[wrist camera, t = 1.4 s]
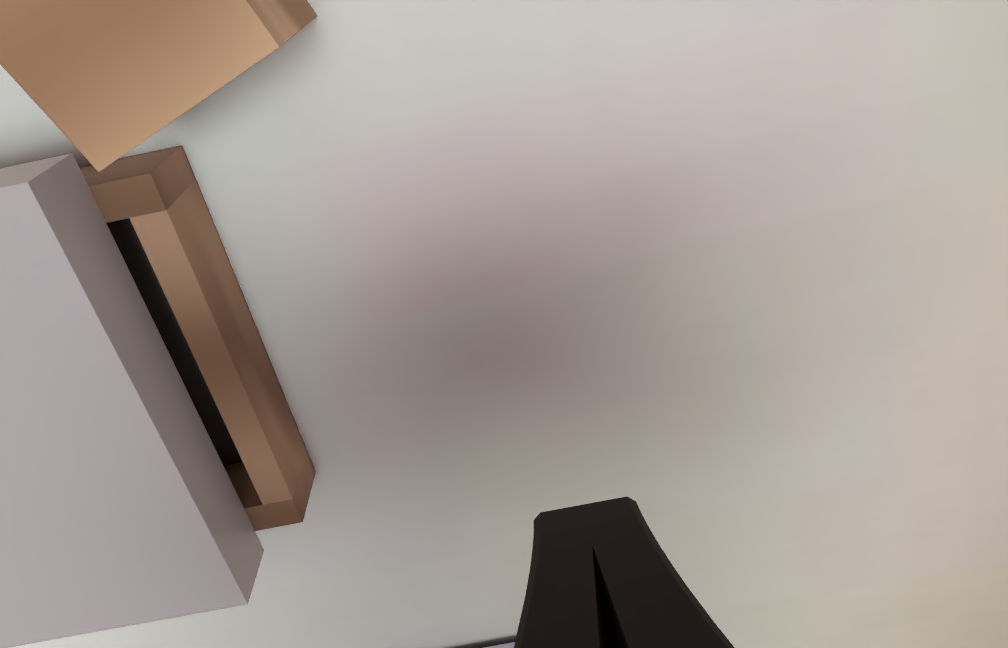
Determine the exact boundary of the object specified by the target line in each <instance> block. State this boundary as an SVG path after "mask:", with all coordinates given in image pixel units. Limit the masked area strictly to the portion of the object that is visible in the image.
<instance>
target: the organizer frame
mask: <svg viewBox="0 0 1008 648" xmlns="http://www.w3.org/2000/svg"><path fill="white" fill-rule="evenodd" d="M79 168H80V170H81V172H82V174H83V176H84V178H85V180H86V182H87V184H88V186H89V188H90V190H91V193H92V195H93V197H94V199H95V201H96V203H97V205H98V207H99V209H100V211H101V213H102V215H103V217H104V219H105V222H106V223H108V222H113V221H117V220H122V219H127V218H129V219H130V221H131V223H132V225H133V227H134V229H135V231H136V234H137V236H138V238H139V240H140V242H141V244H142V246H143V249H144V251H145V253H146V255H147V257H148V259H149V262H150V264H151V266H152V268H153V270H154V272H155V274H156V277H157V279H158V281H159V283H160V285H161V287H162V289H163V292H164V294H165V296H166V298H167V300H168V302H169V305H170V307H171V309H172V311H173V313H174V315H175V317H176V320H177V322H178V324H179V326H180V328H181V330H182V332H183V335H184V337H185V339H186V341H187V343H188V345H189V348H190V350H191V352H192V354H193V356H194V358H195V360H196V363H197V365H198V367H199V369H200V371H201V373H202V375H203V378H204V380H205V382H206V384H207V386H208V388H209V390H210V393H211V395H212V397H213V399H214V401H215V403H216V406H217V408H218V410H219V412H220V414H221V416H222V418H223V421H224V423H225V425H226V427H227V429H228V431H229V433H230V436H231V438H232V440H233V442H234V444H235V446H236V449H237V451H238V453H239V455H240V457H241V459H242V461H243V463H237V464H232V465H227V466H224V468H225V470H226V472H227V474H228V476H229V478H230V480H231V483H232V485H233V487H234V489H235V491H236V493H237V495H238V497H239V499H240V501H241V503H242V505H243V507H244V510H245V512H246V514H247V516H248V518H249V520H250V522H251V524H252V526H253V528H254V530H255V531H257V530H262V529H268V528H273V527H278V526H284V525H289V524H294V523H300V522H303V519H304V515H305V511H306V507H307V503H308V499H309V495H310V491H311V487H312V483H313V479H314V475H315V470H314V468H313V465H312V463H311V460H310V458H309V455H308V453H307V451H306V448H305V446H304V443H303V441H302V438H301V436H300V433H299V431H298V429H297V426H296V424H295V421H294V419H293V416H292V414H291V411H290V409H289V407H288V404H287V402H286V399H285V397H284V394H283V392H282V389H281V387H280V385H279V382H278V380H277V377H276V375H275V372H274V370H273V367H272V365H271V363H270V360H269V358H268V355H267V353H266V350H265V348H264V345H263V343H262V341H261V338H260V336H259V333H258V331H257V328H256V326H255V323H254V321H253V319H252V316H251V314H250V311H249V309H248V306H247V304H246V301H245V299H244V297H243V294H242V292H241V289H240V287H239V284H238V282H237V279H236V277H235V275H234V272H233V270H232V267H231V265H230V262H229V260H228V257H227V255H226V253H225V250H224V248H223V245H222V243H221V240H220V238H219V235H218V233H217V230H216V228H215V226H214V223H213V221H212V218H211V216H210V213H209V211H208V208H207V206H206V204H205V201H204V199H203V196H202V194H201V191H200V189H199V186H198V184H197V182H196V179H195V177H194V174H193V172H192V169H191V167H190V164H189V162H188V160H187V157H186V155H185V152H184V150H183V147H182V146H178V147H173V148H168V149H164V150H159V151H154V152H150V153H145V154H140V155H135V156H131V157H126V158H121V159H117V160H116V161H114V162H113V163H111V164H110V165H108V166H107V167H106V168H104V169H103V170H101V171H100V172H98V171H97V170H96V169H95V168H94V166H93V165H88V166H84V167H79Z"/></svg>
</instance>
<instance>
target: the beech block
mask: <svg viewBox="0 0 1008 648" xmlns="http://www.w3.org/2000/svg"><path fill="white" fill-rule="evenodd" d="M316 16H317V15H316V13H315V12H314V10H313V9H312V7H311V6H310V4H309V3H308V1H307V0H0V64H1V65H2V66H3V68H4V69H5V70H6V71H7V72H8V73H9V74H10V75H11V76H12V77H13V79H14V80H15V81H16V82H17V83H18V84H19V85H20V86H21V87H22V88H23V89H24V91H25V92H26V93H27V94H28V95H29V96H30V97H31V98H32V99H33V100H34V102H35V103H36V104H37V105H38V106H39V107H40V108H41V109H42V110H43V111H44V113H45V114H46V115H47V116H48V117H49V118H50V119H51V120H52V121H53V122H54V124H55V125H56V126H57V127H58V128H59V129H60V130H61V131H62V132H63V133H64V135H65V136H66V137H67V138H68V139H69V140H70V141H71V142H72V143H73V144H74V146H75V147H76V148H77V149H78V150H79V151H80V152H81V153H82V154H83V155H84V157H85V158H86V159H87V160H88V161H89V162H90V163H91V164H92V165H93V166H94V168H95V169H96V170H97V171H98V172H100V171H101V170H103V169H104V168H106V167H107V166H108V165H110V164H111V163H113V162H114V161H116V160H117V159H119V158H120V157H121V156H123V155H124V154H126V153H127V152H129V151H130V150H132V149H133V148H134V147H136V146H137V145H139V144H140V143H142V142H143V141H144V140H146V139H147V138H149V137H150V136H152V135H153V134H155V133H156V132H157V131H159V130H160V129H162V128H163V127H165V126H166V125H168V124H169V123H170V122H172V121H173V120H175V119H176V118H178V117H179V116H181V115H182V114H183V113H185V112H186V111H188V110H189V109H191V108H192V107H194V106H195V105H196V104H198V103H199V102H201V101H202V100H204V99H205V98H207V97H208V96H209V95H211V94H212V93H214V92H215V91H217V90H218V89H219V88H221V87H222V86H224V85H225V84H227V83H228V82H230V81H231V80H232V79H234V78H235V77H237V76H238V75H240V74H241V73H243V72H244V71H245V70H247V69H248V68H250V67H251V66H253V65H254V64H256V63H257V62H258V61H260V60H261V59H263V58H264V57H266V56H267V55H269V54H270V53H271V52H273V51H274V50H276V49H277V48H279V47H280V46H281V45H282V44H284V43H285V42H286V41H287V40H288V39H290V38H291V37H292V36H293V35H294V34H296V33H297V32H298V31H299V30H300V29H302V28H303V27H304V26H305V25H307V24H308V23H309V22H310V21H311V20H313V19H314V18H315V17H316Z"/></svg>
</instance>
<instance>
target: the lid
mask: <svg viewBox="0 0 1008 648" xmlns="http://www.w3.org/2000/svg"><path fill="white" fill-rule="evenodd" d="M263 551H264V549H263V547H262V545H261V543H260V541H259V538H258V536H257V534H256V532H255V530H254V528H253V526H252V524H251V522H250V520H249V518H248V516H247V514H246V512H245V510H244V507H243V505H242V503H241V501H240V499H239V497H238V495H237V493H236V491H235V489H234V487H233V485H232V483H231V480H230V478H229V476H228V474H227V472H226V470H225V468H224V466H223V464H222V462H221V460H220V458H219V456H218V454H217V451H216V449H215V447H214V445H213V443H212V441H211V439H210V437H209V435H208V433H207V431H206V429H205V427H204V425H203V422H202V420H201V418H200V416H199V414H198V412H197V410H196V408H195V406H194V404H193V402H192V400H191V398H190V396H189V393H188V391H187V389H186V387H185V385H184V383H183V381H182V379H181V377H180V375H179V373H178V371H177V369H176V367H175V364H174V362H173V360H172V358H171V356H170V354H169V352H168V350H167V348H166V346H165V344H164V342H163V340H162V338H161V335H160V333H159V331H158V329H157V327H156V325H155V323H154V321H153V319H152V317H151V315H150V313H149V311H148V309H147V306H146V304H145V302H144V300H143V298H142V296H141V294H140V292H139V290H138V288H137V286H136V284H135V282H134V280H133V277H132V275H131V273H130V271H129V269H128V267H127V265H126V263H125V261H124V259H123V257H122V255H121V253H120V251H119V248H118V246H117V244H116V242H115V240H114V238H113V236H112V234H111V232H110V230H109V228H108V226H107V224H106V222H105V219H104V217H103V215H102V213H101V211H100V209H99V207H98V205H97V203H96V201H95V199H94V197H93V195H92V193H91V190H90V188H89V186H88V184H87V182H86V180H85V178H84V176H83V174H82V172H81V170H80V168H79V166H78V164H77V161H76V159H75V157H74V155H73V153H70V154H65V155H61V156H56V157H51V158H47V159H42V160H37V161H33V162H28V163H23V164H19V165H14V166H9V167H5V168H0V648H9V647H14V646H20V645H25V644H31V643H36V642H42V641H47V640H53V639H58V638H64V637H69V636H75V635H80V634H86V633H91V632H97V631H102V630H108V629H113V628H119V627H124V626H130V625H135V624H141V623H146V622H152V621H157V620H163V619H168V618H174V617H179V616H185V615H190V614H196V613H201V612H207V611H212V610H218V609H223V608H229V607H234V606H240V605H245V604H248V601H249V598H250V595H251V591H252V588H253V585H254V581H255V578H256V575H257V571H258V568H259V565H260V561H261V558H262V555H263Z"/></svg>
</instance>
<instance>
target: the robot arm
mask: <svg viewBox="0 0 1008 648" xmlns="http://www.w3.org/2000/svg"><path fill="white" fill-rule="evenodd" d="M484 648H734V647H733V645H732V644H731V643H730V642H729V640H728V639H727V638H726V637H725V635H724V634H723V633H722V632H721V630H720V629H719V628H718V627H717V625H716V624H715V623H714V622H713V620H712V619H711V618H710V616H709V615H708V614H707V612H706V611H705V610H704V608H703V607H702V606H701V604H700V603H699V602H698V600H697V599H696V598H695V596H694V595H693V594H692V592H691V591H690V590H689V588H688V587H687V586H686V584H685V583H684V581H683V580H682V579H681V577H680V576H679V574H678V573H677V571H676V570H675V568H674V567H673V565H672V564H671V562H670V561H669V559H668V558H667V556H666V555H665V553H664V552H663V550H662V549H661V547H660V545H659V544H658V542H657V541H656V539H655V537H654V536H653V534H652V532H651V530H650V529H649V527H648V525H647V523H646V521H645V519H644V518H643V516H642V514H641V512H640V510H639V507H638V505H637V503H636V501H634V500H632V499H630V498H629V497H622V498H617V499H612V500H606V501H601V502H595V503H590V504H584V505H579V506H574V507H568V508H563V509H557V510H552V511H546V512H541V513H540V514H539V515H538V516H537V517H536V518H535V519H534V539H533V551H532V559H531V566H530V573H529V579H528V584H527V590H526V596H525V601H524V605H523V610H522V614H521V618H520V623H519V627H518V632H517V636H516V640H515V642H512V643H506V644H501V645H495V646H489V647H484Z"/></svg>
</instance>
